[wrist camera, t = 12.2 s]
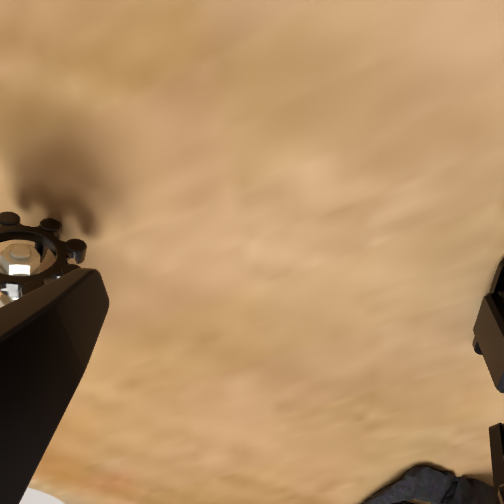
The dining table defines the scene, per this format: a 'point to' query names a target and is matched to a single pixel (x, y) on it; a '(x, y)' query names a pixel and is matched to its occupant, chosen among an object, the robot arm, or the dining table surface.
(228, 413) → the dining table surface
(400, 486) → the dark slate chunk
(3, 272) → the valve
